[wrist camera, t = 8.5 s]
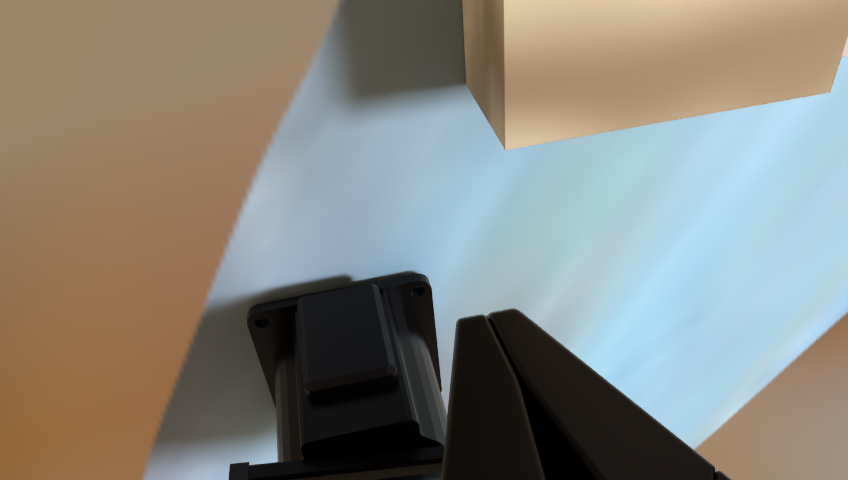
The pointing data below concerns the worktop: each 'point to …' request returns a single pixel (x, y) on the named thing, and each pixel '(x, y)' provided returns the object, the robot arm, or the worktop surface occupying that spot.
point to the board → (641, 60)
